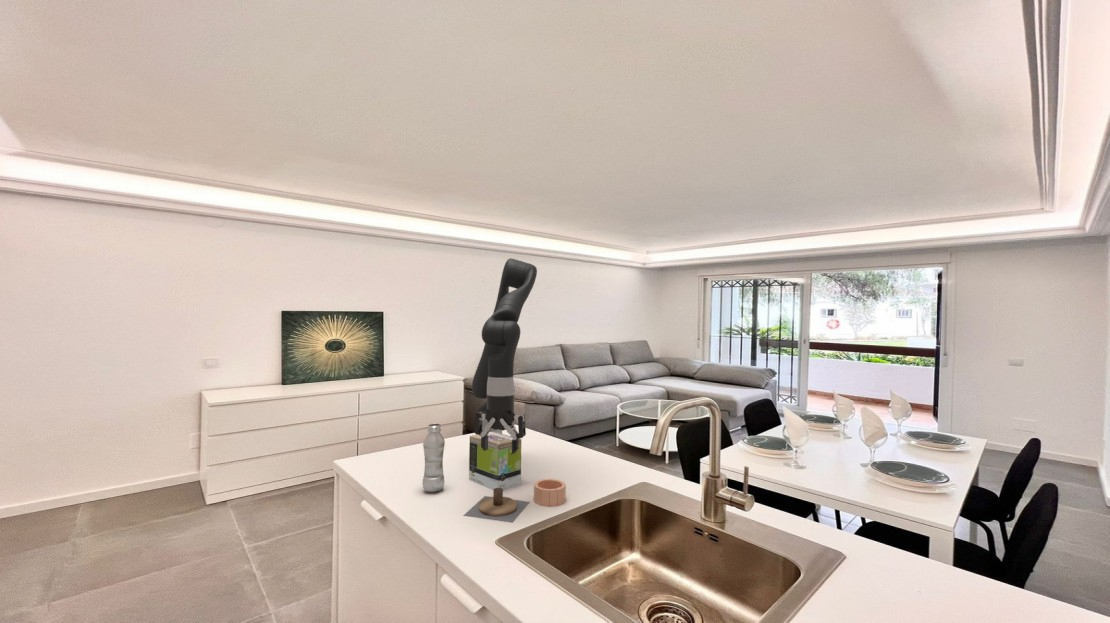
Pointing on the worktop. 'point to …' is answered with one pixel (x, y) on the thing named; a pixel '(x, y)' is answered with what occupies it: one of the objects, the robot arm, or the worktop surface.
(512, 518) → the mat
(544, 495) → the bowl
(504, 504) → the lid
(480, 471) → the tea box
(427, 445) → the plastic bottle
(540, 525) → the worktop surface
